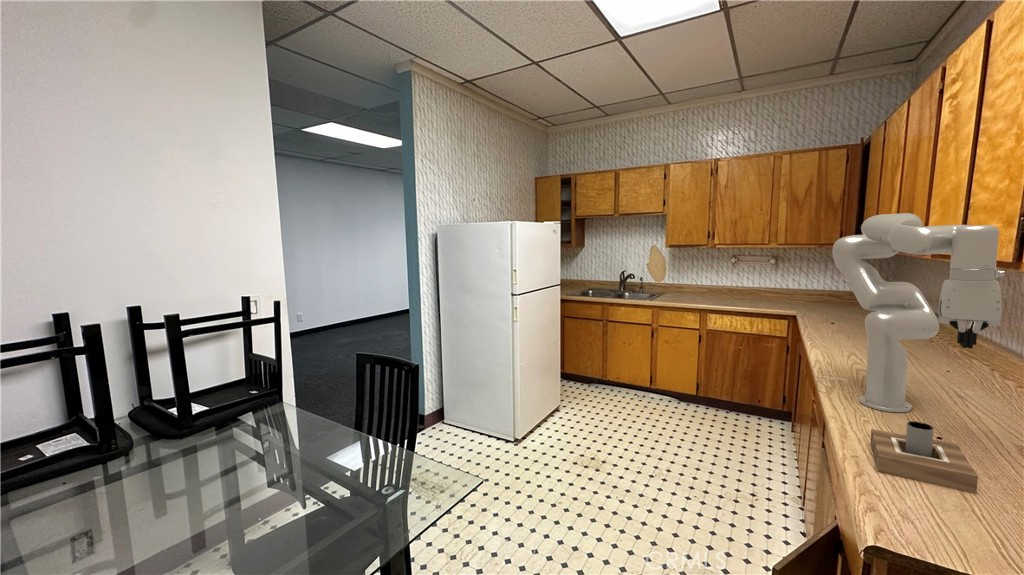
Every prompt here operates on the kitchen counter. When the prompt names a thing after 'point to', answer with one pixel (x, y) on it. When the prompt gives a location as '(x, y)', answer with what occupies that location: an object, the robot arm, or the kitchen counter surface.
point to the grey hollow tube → (919, 439)
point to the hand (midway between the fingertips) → (966, 346)
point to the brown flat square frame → (923, 462)
